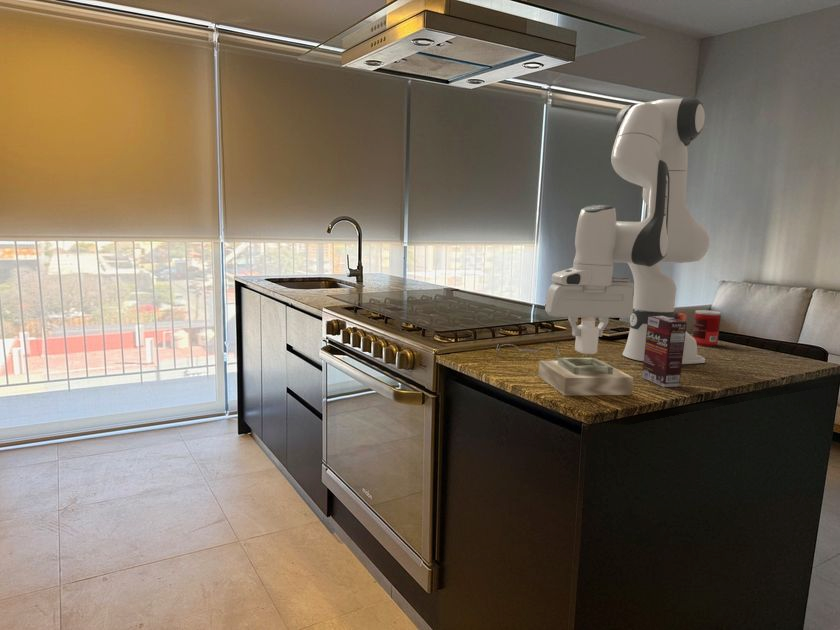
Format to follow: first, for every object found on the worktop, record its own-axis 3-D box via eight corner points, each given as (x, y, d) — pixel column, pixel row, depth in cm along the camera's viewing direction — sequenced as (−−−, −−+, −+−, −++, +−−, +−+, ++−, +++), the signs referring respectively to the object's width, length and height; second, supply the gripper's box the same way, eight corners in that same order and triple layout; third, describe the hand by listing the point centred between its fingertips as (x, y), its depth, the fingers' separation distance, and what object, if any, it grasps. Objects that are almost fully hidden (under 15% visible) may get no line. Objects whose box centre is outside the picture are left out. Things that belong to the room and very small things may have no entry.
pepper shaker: (573, 350, 137) (576, 311, 135) (588, 350, 138) (591, 311, 136) (582, 354, 133) (586, 313, 131) (598, 354, 134) (601, 313, 133)
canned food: (718, 343, 195) (722, 311, 193) (715, 347, 188) (719, 314, 187) (693, 340, 199) (697, 309, 197) (690, 344, 193) (693, 311, 191)
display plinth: (599, 376, 146) (601, 354, 145) (631, 394, 130) (634, 371, 129) (538, 376, 143) (539, 354, 142) (564, 395, 128) (566, 371, 127)
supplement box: (640, 378, 145) (646, 315, 143) (657, 377, 147) (663, 315, 144) (663, 387, 137) (670, 321, 135) (680, 387, 139) (688, 321, 136)
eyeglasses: (495, 357, 164) (495, 343, 163) (498, 346, 182) (498, 333, 182) (560, 362, 161) (561, 348, 160) (556, 350, 179) (557, 337, 179)
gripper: (627, 276, 137) (621, 333, 140) (545, 274, 134) (540, 333, 136) (641, 279, 131) (635, 339, 133) (555, 276, 128) (550, 338, 130)
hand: (587, 336), depth 135 cm, fingers closed on pepper shaker, 4 cm apart
